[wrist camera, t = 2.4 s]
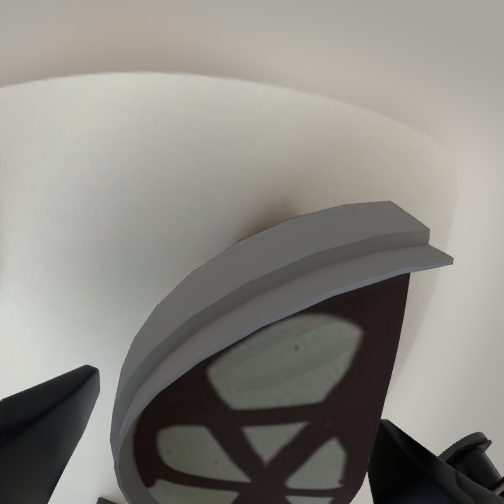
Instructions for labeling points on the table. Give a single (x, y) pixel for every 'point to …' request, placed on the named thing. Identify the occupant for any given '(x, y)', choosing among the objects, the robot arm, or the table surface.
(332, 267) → the cake slice
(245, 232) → the table surface
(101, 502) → the storage box
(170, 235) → the table surface
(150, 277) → the table surface
